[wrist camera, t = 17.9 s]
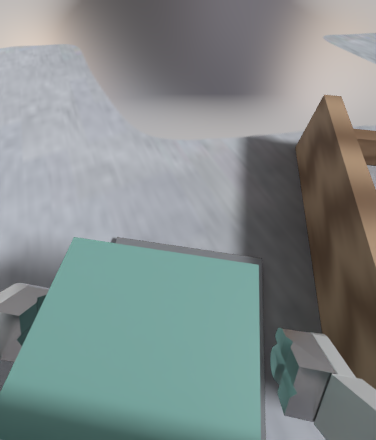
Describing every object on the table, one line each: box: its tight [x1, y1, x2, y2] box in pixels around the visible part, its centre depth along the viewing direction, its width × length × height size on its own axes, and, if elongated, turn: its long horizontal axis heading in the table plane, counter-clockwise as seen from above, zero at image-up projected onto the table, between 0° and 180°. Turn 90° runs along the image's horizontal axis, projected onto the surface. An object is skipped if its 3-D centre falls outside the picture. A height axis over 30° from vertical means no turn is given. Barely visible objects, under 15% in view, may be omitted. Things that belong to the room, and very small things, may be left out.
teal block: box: [0, 237, 261, 440], centre depth 9 cm, size 5×4×11 cm
